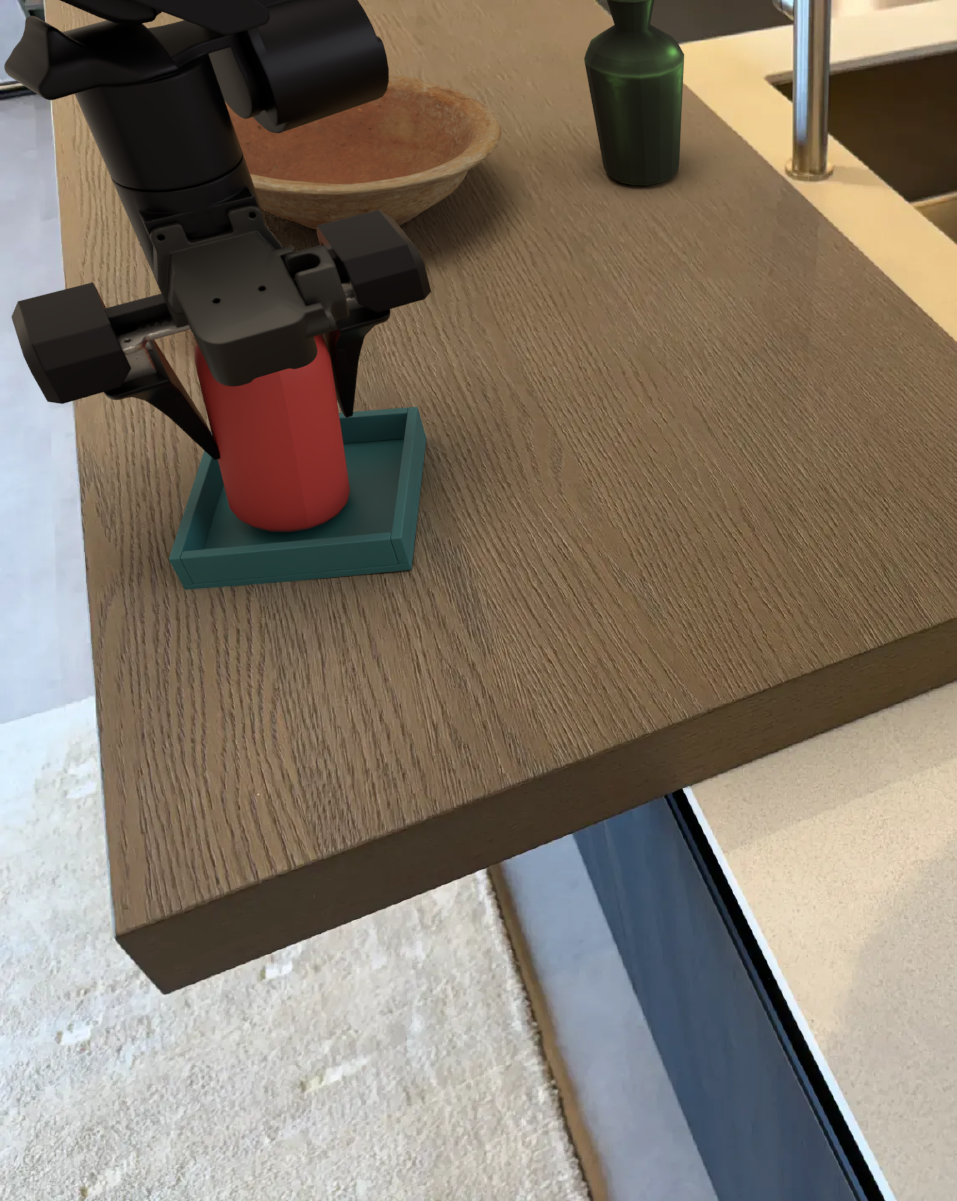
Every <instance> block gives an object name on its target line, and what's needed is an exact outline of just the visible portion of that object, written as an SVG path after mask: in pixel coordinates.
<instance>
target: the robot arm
mask: <svg viewBox="0 0 957 1201" xmlns="http://www.w3.org/2000/svg"><path fill="white" fill-rule="evenodd" d="M59 1H60V2H63V3H65V4H67V5H69V6H72V7H74V8H77V9H78V10H80V11H83V12H85V13H87V14H91V15H93V16H95V17H97V18H100V19H102V21H98V22H95V23H91V24H88V25H83V26H80V27H76V28H72V29H68V30H65V31H63V30H59V29H58V28H57V27H55V26H54V25H52V24H50V23H48V22H46V21H44V20H43V19H41V18H39V17H38V16H35V15H29V16H26V18H25V20H24V21H25V22H24V30H23V33H22V36H21V37H20V40H19V42H17V44H15V46H14V47H13V49H12V51H11V53H10V55H9V56H8V58H7V59H6V61H5V63H4V65H3V66H4V67H3V68H4V71H5V74H7V76H8V77H10V78H11V79H13V80H14V81H16V82H17V83H19V84H21V85H22V86H24V87H25V88H27V89H28V90H30V91H32V92H34V93H35V94H37V95H38V96H40V97H41V98H43V99H45V100H46V101H55V100H59V99H62V98H65V97H70V96H72V95H74V96H75V99H76V101H77V103H78V105H79V107H80V110H81V113H82V115H83V117H84V119H85V121H86V123H87V126H88V128H89V130H90V133H91V134H92V137H93V139H94V141H95V144H96V146H97V148H98V151H99V153H100V155H101V158H102V160H103V162H104V165H105V167H106V169H107V171H108V174H109V176H110V179H111V181H112V184H113V186H114V188H115V190H116V193H117V195H118V197H119V199H120V202H121V204H122V206H123V209H124V211H125V213H126V215H127V217H128V220H129V222H130V225H131V226H132V229H133V231H134V234H135V236H136V238H137V240H138V243H139V245H140V248H141V249H142V252H143V255H144V256H145V259H146V261H147V263H148V265H149V268H150V270H151V272H152V275H153V278H154V280H155V283H156V285H157V287H158V289H159V291H160V293H158V294H154V295H150V296H146V297H142V298H139V299H135V300H131V301H127V302H124V303H120V304H116V305H112V306H108V307H106V304H105V302H104V300H103V298H102V296H101V294H100V292H99V290H98V288H97V286H96V284H95V283H94V282H93V281H92V282H89V283H85V284H84V283H83V284H80V285H76V286H72V287H69V288H65V289H61V290H56V291H53V292H49V293H45V294H40V295H37V296H33V297H29V298H25V299H21V300H17V302H16V306H15V307H14V309H13V312H12V314H11V320H12V324H13V327H14V330H15V333H16V336H17V340H18V343H19V346H20V350H21V353H22V357H23V359H24V360H25V362H26V365H27V368H28V369H29V371H30V374H31V376H32V377H33V379H34V381H35V382H36V384H37V386H38V388H39V389H40V391H41V393H42V395H43V396H44V398H45V400H46V402H47V403H51V404H52V403H54V404H59V405H64V404H68V403H71V402H75V401H77V400H81V399H85V398H88V397H93V396H95V395H99V394H101V393H103V394H104V395H105V396H106V397H107V398H108V399H110V400H113V401H121V400H126V399H127V398H129V399H130V398H132V399H133V398H134V399H137V400H141V401H145V402H146V403H148V404H149V405H151V406H152V407H154V408H155V409H156V410H158V411H160V412H161V413H163V414H164V415H165V416H167V417H168V419H170V420H171V421H172V422H173V423H174V424H175V425H177V427H179V428H180V429H181V430H182V431H183V432H184V433H185V434H186V435H187V436H188V437H189V438H190V439H191V440H192V441H194V443H195V444H196V445H198V446H199V447H200V448H201V450H203V452H204V451H205V452H206V453H207V454H208V455H209V456H211V457H212V458H213V459H214V460H218V459H220V453H219V450H218V447H217V445H216V443H215V441H214V439H213V436H212V434H211V432H210V431H211V429H210V427H209V425H208V424H207V421H206V420H205V419H204V417H203V415H202V414H201V412H200V410H199V409H198V407H197V406H196V404H195V402H194V401H193V399H192V398H191V396H190V394H189V393H188V391H187V390H186V388H185V386H184V385H183V383H182V382H181V380H180V378H179V377H178V375H177V374H176V372H175V370H174V369H173V368H172V366H171V364H170V362H169V361H168V359H167V357H166V356H165V354H164V353H163V351H162V349H161V348H160V346H159V344H158V343H157V342H156V340H158V339H161V338H165V337H168V336H172V335H175V334H179V333H183V332H187V331H191V333H192V336H193V338H194V340H195V343H196V342H197V344H198V346H199V348H200V350H201V352H202V355H203V357H204V359H205V361H206V363H207V365H208V368H209V370H210V372H211V374H212V376H213V378H214V379H215V380H216V381H217V382H219V383H220V384H222V385H226V386H241V385H245V384H248V383H251V382H252V381H253V380H254V379H255V378H258V377H262V376H265V375H268V374H272V373H275V372H278V371H282V370H285V369H289V368H291V369H298V368H301V367H304V366H307V365H308V364H310V363H311V362H312V361H313V360H314V359H315V358H316V356H317V351H318V350H317V346H316V342H315V338H314V336H317V335H321V334H322V336H323V339H324V341H325V343H326V346H327V348H328V351H329V354H330V357H331V364H332V371H333V378H334V384H335V391H336V398H337V405H338V406H339V409H340V411H341V413H343V414H344V416H345V417H346V418H348V417H351V416H353V412H354V409H355V401H356V400H355V399H356V389H357V380H358V371H359V370H358V369H359V361H360V358H361V353H362V349H363V344H364V341H365V338H366V336H367V335H368V334H369V333H370V331H371V330H372V329H374V327H376V326H378V325H380V324H384V323H386V322H388V321H389V319H390V317H391V310H392V309H396V308H398V307H403V306H407V305H410V304H413V303H416V302H421V301H423V300H426V298H427V297H428V296H429V295H430V294H431V292H432V288H431V284H430V280H429V277H428V272H427V269H426V264H425V262H424V259H423V258H422V255H421V252H420V250H419V248H418V247H417V246H416V245H415V244H414V243H413V241H412V240H411V239H410V237H409V236H408V235H407V233H405V231H404V230H403V229H402V228H401V227H400V226H401V225H400V226H399V225H398V224H397V223H396V222H395V220H394V219H393V218H391V217H390V216H388V215H387V214H385V213H383V212H382V211H380V210H376V211H372V212H368V213H364V214H360V215H356V216H352V217H348V218H344V219H340V220H336V221H332V222H329V223H325V224H321V225H317V230H316V236H317V239H318V243H319V245H315V246H311V247H308V248H304V249H300V250H297V251H295V249H294V247H293V246H292V245H289V246H285V247H284V246H283V245H282V243H281V242H280V240H279V239H278V238H277V237H276V236H275V234H274V233H273V232H272V231H271V228H269V225H268V221H267V219H266V216H265V214H264V210H263V209H262V207H261V204H260V201H259V198H258V196H257V193H256V190H255V187H254V184H253V181H252V178H251V175H250V172H249V170H248V167H247V164H246V161H245V158H244V155H243V152H242V149H241V146H240V143H239V140H238V138H237V135H236V132H235V129H234V126H233V123H232V120H231V117H230V114H229V112H228V109H227V106H226V103H227V105H228V106H229V107H230V108H231V109H232V110H233V111H234V112H235V113H236V114H237V115H238V116H240V117H241V118H244V119H247V118H251V117H253V118H254V119H255V120H256V121H257V122H258V123H259V124H260V125H261V126H263V127H264V128H265V129H266V130H268V131H270V132H272V133H278V134H279V133H282V132H284V131H287V130H290V129H293V128H296V127H299V126H302V125H305V124H308V123H310V122H313V121H316V120H319V119H322V118H325V117H328V116H331V115H333V114H336V113H339V112H342V111H345V110H348V109H351V108H354V107H357V106H359V105H362V104H365V103H368V102H371V101H374V100H377V99H379V98H381V97H383V96H384V94H385V93H386V91H387V87H388V83H389V75H390V68H389V63H388V62H389V61H388V56H387V52H386V48H385V45H384V44H385V43H384V42H383V40H382V38H381V37H380V36H379V35H377V33H376V31H375V28H374V27H373V24H372V22H371V20H370V18H369V16H368V15H367V12H366V10H365V8H364V7H363V5H362V4H361V3H360V1H359V0H59ZM162 13H164V14H167V15H169V16H172V17H174V18H177V19H180V21H176V22H172V23H167V24H164V25H159V26H153V27H147V26H146V25H145V24H147V23H152V22H154V21H155V20H156V19H157V17H158V16H159V15H160V14H162ZM225 102H226V103H225Z"/></svg>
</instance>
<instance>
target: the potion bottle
mask: <svg viewBox="0 0 957 1201" xmlns="http://www.w3.org/2000/svg"><path fill="white" fill-rule="evenodd" d="M606 3H607V5H608V8H609V9H608V10H609V12H610V15H611V19H612V22H613V25H612V26H610V27H608V28H607V29H605V30H603V31H602V32H600V33H599V34H597V35H595V36H594V37H593V38H591V40H590V41H589V43H588V46H587V49H586V50H585V53H584V54H585V55H584V57H583V61H584V66H585V67H584V68H585V71H586V78H587V83H588V87H589V96H590V98H591V99H590V100H591V105H592V110H593V117H594V123H595V127H596V133H597V138H598V144H599V149H600V156H601V160H602V166H603V169H604V170H605V172H606V174H607V175H608V176H609V177H610V178H612V179H613V180H615V181H617V182H619V183H622V184H626V185H631V186H651V185H658V184H661V183H663V182H666V181H668V180H670V179H671V178H672V177H674V175H675V174H677V173H678V172H679V167H680V157H681V156H680V154H681V136H682V135H681V132H682V112H683V93H684V92H683V90H684V73H685V72H684V71H685V70H684V68H685V53H684V51H683V49H682V48H681V46H680V44H679V42H678V41H677V40H676V39H675V38H674V37H673V35H670V33H667V32H665V31H663V30H662V29H660V28H658V27H656V26H654V25H652V24H651V21H652V16H653V12H654V11H653V10H654V5H655V4H654V3H655V0H606Z"/></svg>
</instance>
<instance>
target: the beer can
mask: <svg viewBox="0 0 957 1201" xmlns="http://www.w3.org/2000/svg"><path fill="white" fill-rule="evenodd" d="M314 338H315V342H316V346H317V350H318V351H317V356H316V358H315V359H314V360H313V361H312V362H311V363H310V364H308V365H307V366H304V367H301V368H298V369H291V368H289V369H285V370H282V371H278V372H275V373H272V374H268V375H265V376H262V377H258V378H255V379H254V380H253V381H252V382H251V383H248V384H245V385H241V386H226V385H222V384H220V383H219V382H217V381H216V380H215V379H214V378H213V376H212V374H211V372H210V370H209V368H208V365H207V363H206V361H205V359H204V357H203V355H202V352H201V350H200V348H199V346H198V344H197V342H196V341H195V346H194V364H195V365H194V366H195V370H196V374H197V378H198V382H199V386H200V391H201V395H202V399H203V403H204V407H205V411H206V416H207V419H208V420H207V421H208V424H209V429H210V431H211V433H212V436H213V439H214V441H215V443H216V445H217V447H218V450H219V453H220V459H218V462H219V466H220V470H221V474H222V478H223V482H224V487H225V491H226V495H227V499H228V503H229V507H230V509H231V510H232V512H233V513H234V514H235V515H236V516H237V517H238V518H239V519H240V520H241V521H243V522H245V523H247V524H248V525H250V526H252V527H254V528H257V529H261V530H266V531H270V532H296V531H302V530H308V529H311V528H314V527H316V526H319V525H322V524H324V523H326V522H327V521H329V520H330V519H332V518H333V517H335V516H336V515H337V514H338V513H339V512H340V511H341V510H342V508H343V507H344V506H345V505H346V503H347V501H348V497H349V493H350V486H349V479H348V473H347V466H346V459H345V452H344V446H343V439H342V432H341V425H340V418H339V413H340V412H339V407H338V406H339V404H338V401H337V398H336V391H335V384H334V378H333V371H332V364H331V357H330V354H329V351H328V348H327V346H326V343H325V341H324V339H323V336H322V334H321V335H317V336H314Z"/></svg>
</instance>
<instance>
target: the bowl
mask: <svg viewBox="0 0 957 1201" xmlns="http://www.w3.org/2000/svg"><path fill="white" fill-rule="evenodd" d="M225 103H226V102H225ZM226 106H227V109H228V112H229V114H230V117H231V120H232V123H233V126H234V129H235V132H236V135H237V138H238V140H239V143H240V146H241V149H242V152H243V155H244V158H245V161H246V164H247V167H248V170H249V172H250V175H251V178H252V181H253V184H254V187H255V190H256V193H257V196H258V198H259V201H260V204H261V207H262V210H263V211H265V212H267V213H269V214H271V215H274V216H276V217H279V218H280V219H285V220H287V221H291V222H294V223H297V224H299V225H301V226H303V227H306V228H310V229H312V230H315V231H317V225H321V224H325V223H329V222H332V221H336V220H340V219H344V218H348V217H352V216H356V215H360V214H364V213H368V212H372V211H376V210H380V211H382V212H383V213H385V214H387V215H388V216H390V217H391V218H393V219H394V220H395V222H396V223H397V224H398V225H399V226H401V225H403V224H405V223H407V222H409V221H411V220H413V219H414V218H416V217H417V216H418V215H420V214H421V213H424V212H425V211H426V210H428V209H430V208H432V207H433V206H434V205H436V204H437V203H439V202H441V201H442V200H444V199H445V198H447V197H448V196H450V195H451V194H453V193H454V192H455V190H456V189H457V188H459V186H460V185H461V183H462V182H463V180H464V179H465V178H466V176H467V175H468V174H467V173H469V172H468V171H469V170H471V169H473V168H475V167H476V166H477V165H479V164H480V163H482V162H483V161H484V160H486V159H487V158H488V157H489V156H490V155H491V154H492V153H493V152H494V150H495V149H496V148H497V147H498V145H499V144H500V141H501V139H502V127H501V125H500V122H499V120H498V118H497V116H496V114H495V112H494V111H493V110H491V109H489V108H488V107H487V106H486V105H485V104H484V103H482V102H481V101H479V99H476V98H475V97H473V96H471V95H468V94H466V93H463V92H461V91H458V90H455V89H452V88H450V87H447V86H443V85H439V84H434V83H431V82H426V81H424V80H422V79H420V78H418V77H412V76H405V75H393V74H389V83H388V87H387V91H386V93H385V94H384V96H383V97H381V98H379V99H377V100H374V101H371V102H368V103H365V104H362V105H359V106H357V107H354V108H351V109H348V110H345V111H342V112H339V113H336V114H333V115H331V116H328V117H325V118H322V119H319V120H316V121H313V122H310V123H308V124H305V125H302V126H299V127H296V128H293V129H290V130H287V131H284V132H282V133H279V134H278V133H272V132H270V131H268V130H266V129H265V128H264V127H263V126H261V125H260V124H259V123H258V122H257V121H256V120H255V119H254V118H253V117H251V118H247V119H244V118H241V117H240V116H238V115H237V114H236V113H235V112H234V111H233V110H232V109H231V108H230V107H229V106H228V105H227V103H226Z"/></svg>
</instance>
